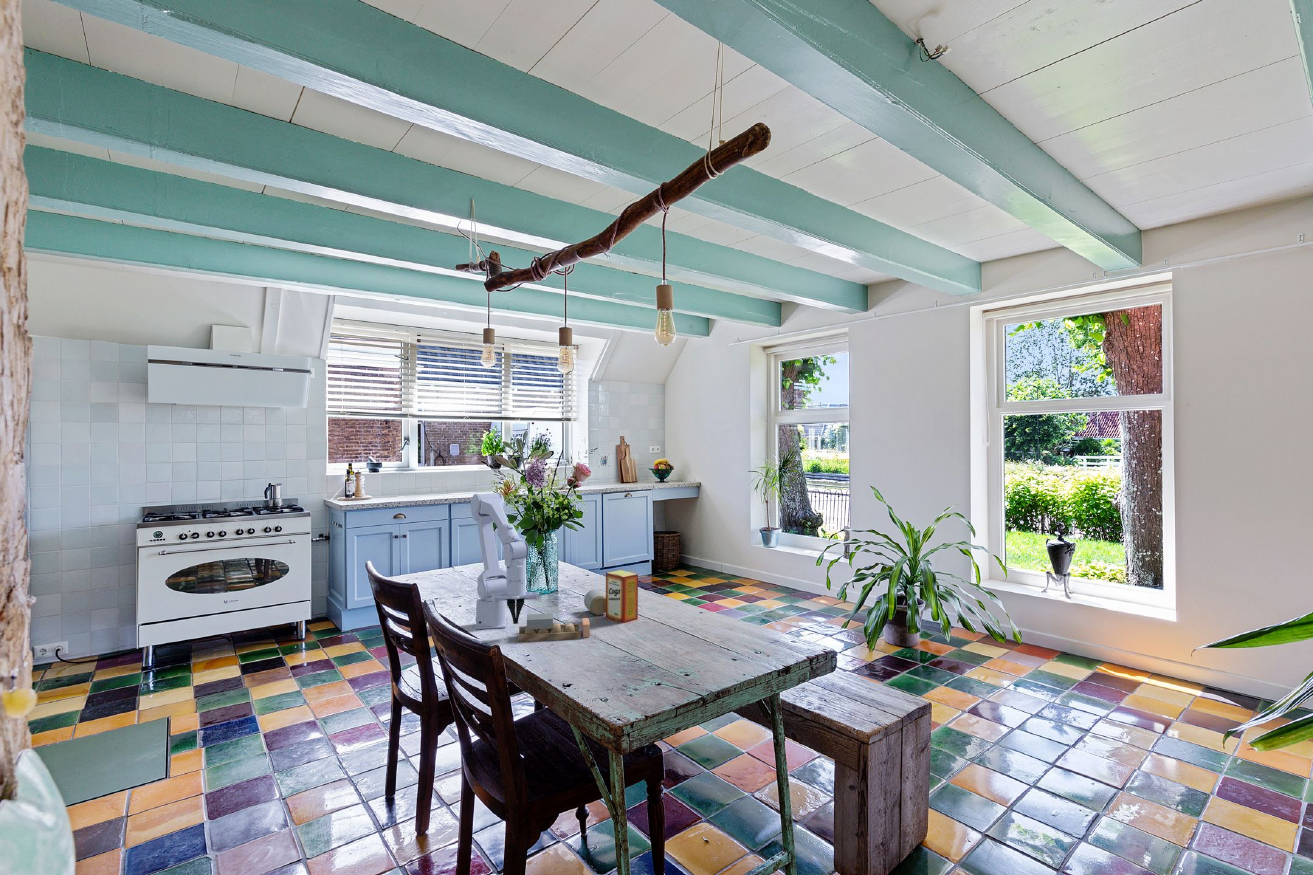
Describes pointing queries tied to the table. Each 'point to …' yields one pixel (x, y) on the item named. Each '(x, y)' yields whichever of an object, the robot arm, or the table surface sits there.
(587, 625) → the block
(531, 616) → the slab
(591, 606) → the ceramic mug
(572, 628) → the roller
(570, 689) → the table surface
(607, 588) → the baking soda box
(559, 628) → the roller track
